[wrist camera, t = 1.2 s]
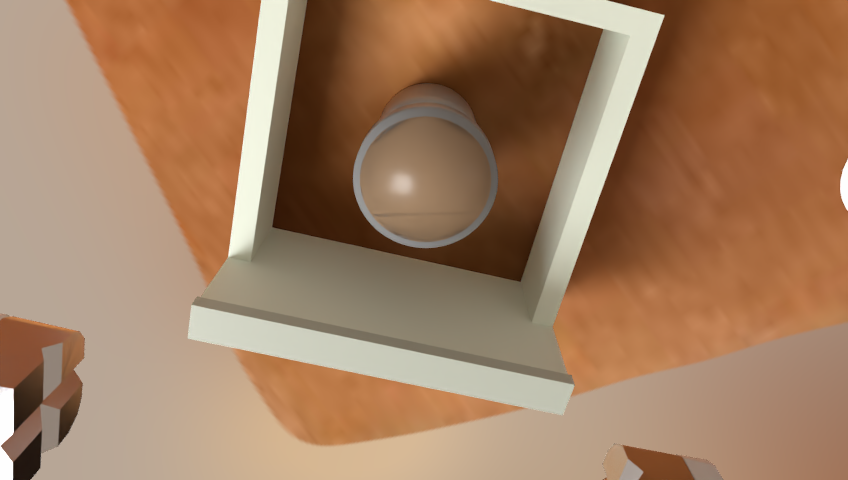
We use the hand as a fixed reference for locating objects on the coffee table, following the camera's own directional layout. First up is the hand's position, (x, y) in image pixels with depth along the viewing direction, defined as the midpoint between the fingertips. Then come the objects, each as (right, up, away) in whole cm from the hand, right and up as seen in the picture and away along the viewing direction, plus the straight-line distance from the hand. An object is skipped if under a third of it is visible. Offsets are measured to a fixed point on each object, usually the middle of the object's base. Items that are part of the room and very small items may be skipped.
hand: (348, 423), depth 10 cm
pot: (+1, +9, +27) cm, 29 cm away
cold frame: (+1, +9, +27) cm, 29 cm away
